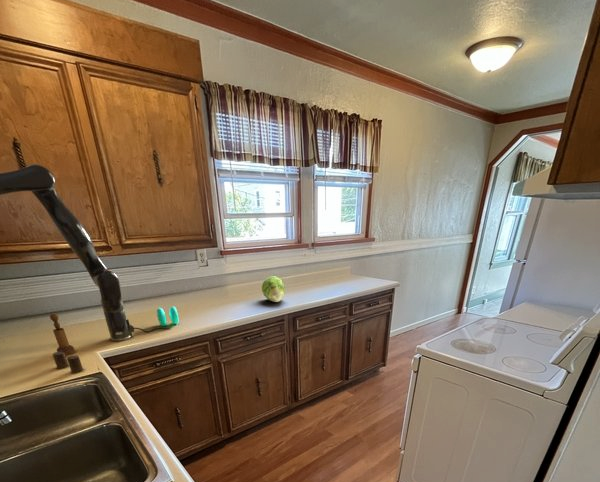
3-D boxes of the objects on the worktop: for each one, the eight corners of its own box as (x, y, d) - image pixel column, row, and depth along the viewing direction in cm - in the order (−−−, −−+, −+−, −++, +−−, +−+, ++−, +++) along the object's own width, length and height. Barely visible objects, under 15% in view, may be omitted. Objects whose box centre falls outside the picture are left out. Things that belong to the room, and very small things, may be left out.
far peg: (81, 368, 133) (77, 354, 130) (84, 371, 130) (79, 357, 127) (70, 371, 130) (65, 357, 127) (73, 374, 128) (68, 359, 125)
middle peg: (67, 364, 136) (62, 350, 134) (70, 366, 134) (65, 353, 131) (56, 366, 134) (51, 353, 131) (58, 369, 131) (53, 355, 129)
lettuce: (276, 313, 234) (260, 297, 225) (270, 300, 252) (256, 285, 243) (293, 297, 230) (278, 280, 221) (286, 285, 248) (272, 269, 239)
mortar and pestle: (54, 354, 146) (40, 315, 138) (68, 349, 151) (55, 311, 143) (65, 356, 144) (50, 316, 136) (78, 351, 149) (65, 312, 141)
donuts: (180, 325, 185) (177, 308, 181) (161, 328, 181) (158, 310, 176) (176, 321, 193) (173, 304, 188) (158, 324, 188) (155, 306, 184)
